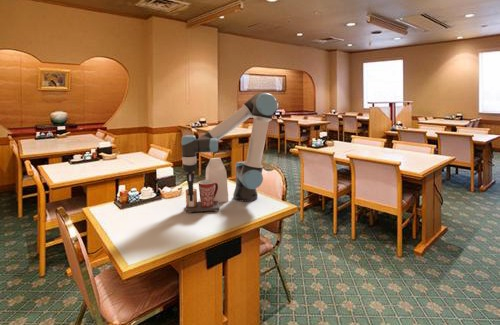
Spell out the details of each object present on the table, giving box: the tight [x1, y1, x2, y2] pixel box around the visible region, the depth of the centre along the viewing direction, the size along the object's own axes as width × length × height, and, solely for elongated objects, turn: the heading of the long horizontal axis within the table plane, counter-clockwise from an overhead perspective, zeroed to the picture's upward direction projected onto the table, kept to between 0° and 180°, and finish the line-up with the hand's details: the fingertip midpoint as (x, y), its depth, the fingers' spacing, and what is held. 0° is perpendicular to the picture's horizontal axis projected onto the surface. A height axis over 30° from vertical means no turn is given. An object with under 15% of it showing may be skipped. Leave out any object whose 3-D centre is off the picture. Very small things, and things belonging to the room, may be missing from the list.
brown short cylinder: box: [185, 188, 198, 207], centre depth 181 cm, size 6×6×9 cm
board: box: [185, 201, 220, 214], centre depth 183 cm, size 18×12×2 cm, turn 99°
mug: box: [197, 179, 218, 207], centre depth 182 cm, size 13×9×14 cm
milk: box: [205, 157, 229, 203], centre depth 197 cm, size 12×12×26 cm
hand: (191, 204), depth 181 cm, fingers closed on brown short cylinder, 6 cm apart
